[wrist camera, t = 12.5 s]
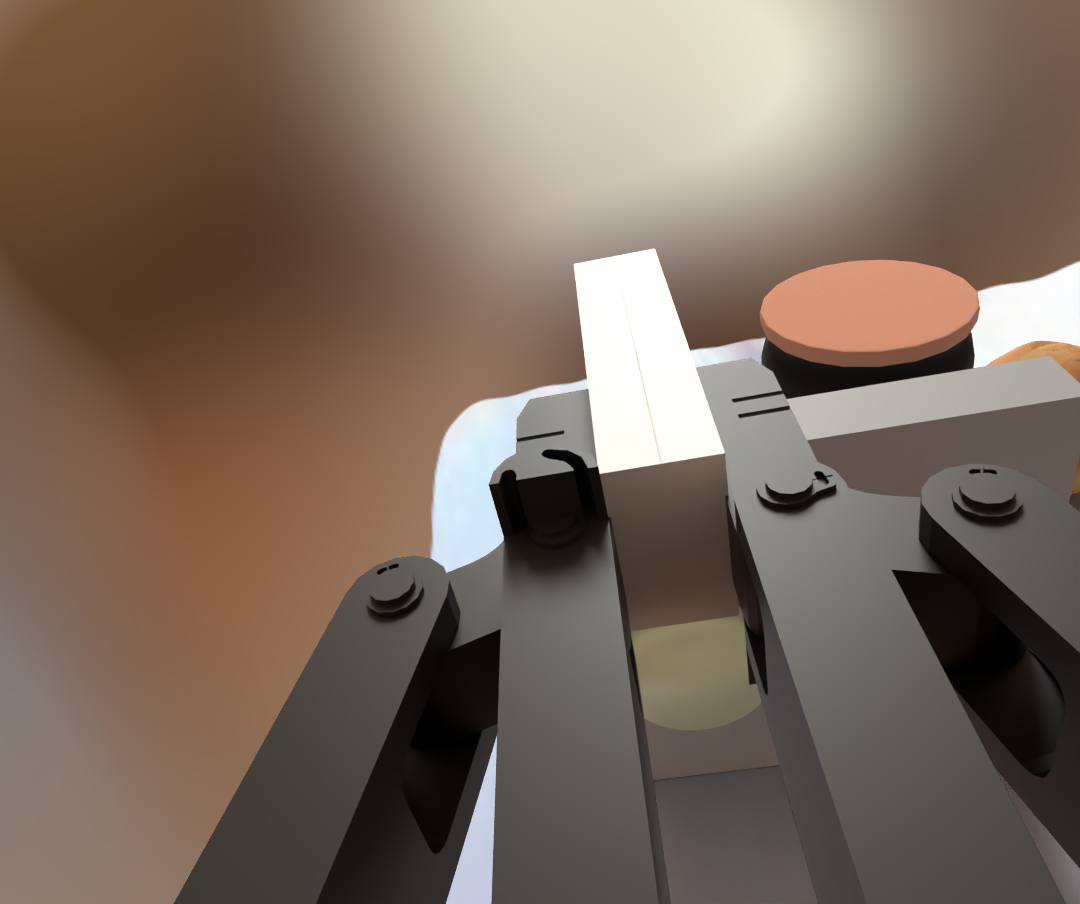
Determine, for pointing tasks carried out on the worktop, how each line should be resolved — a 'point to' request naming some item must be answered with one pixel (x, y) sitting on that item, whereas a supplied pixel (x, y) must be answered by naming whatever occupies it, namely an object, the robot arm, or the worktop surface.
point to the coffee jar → (867, 326)
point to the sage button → (695, 673)
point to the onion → (1066, 355)
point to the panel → (906, 484)
